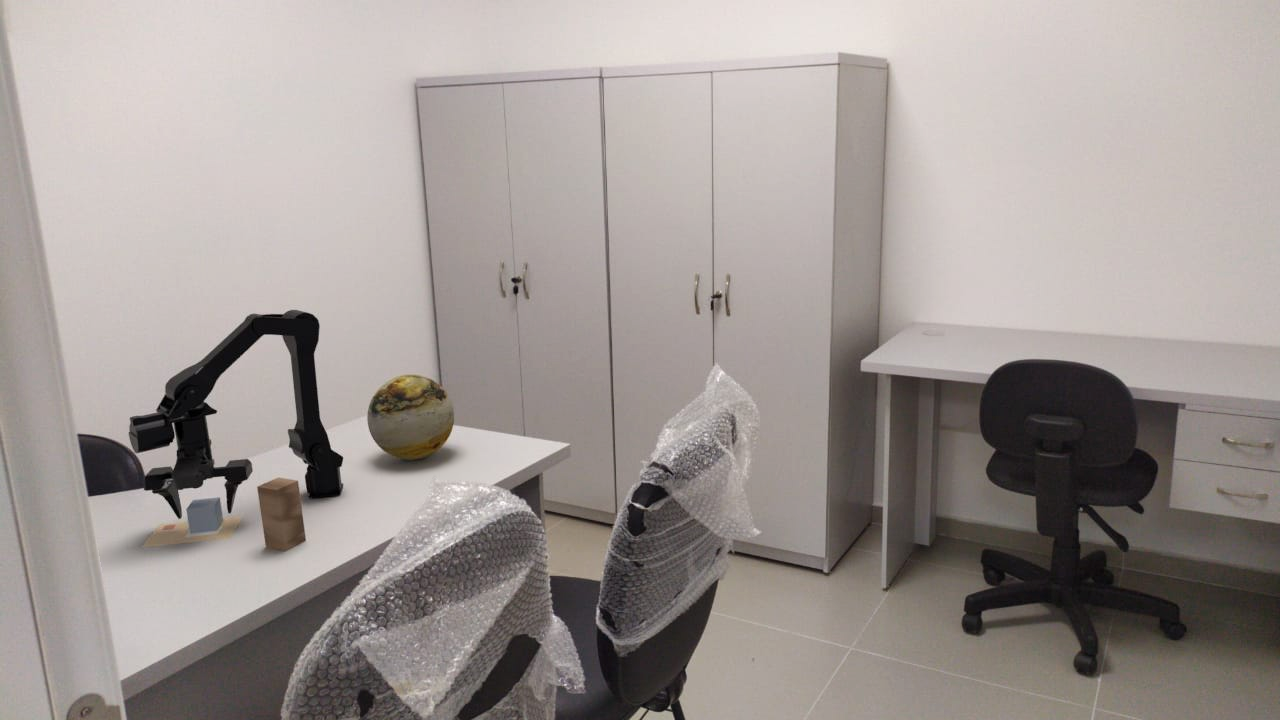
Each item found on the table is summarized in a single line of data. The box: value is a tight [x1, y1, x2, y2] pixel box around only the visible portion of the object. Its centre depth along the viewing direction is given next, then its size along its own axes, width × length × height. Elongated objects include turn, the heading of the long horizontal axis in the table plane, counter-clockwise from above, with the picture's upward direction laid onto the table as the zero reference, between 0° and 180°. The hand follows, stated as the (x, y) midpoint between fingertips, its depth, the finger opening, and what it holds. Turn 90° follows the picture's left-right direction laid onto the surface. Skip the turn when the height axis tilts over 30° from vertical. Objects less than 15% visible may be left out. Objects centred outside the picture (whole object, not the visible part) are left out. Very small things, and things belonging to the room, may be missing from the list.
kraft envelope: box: [141, 515, 244, 548], centre depth 180 cm, size 16×11×1 cm
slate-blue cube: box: [185, 496, 224, 533], centre depth 181 cm, size 5×5×5 cm
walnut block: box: [256, 476, 307, 552], centre depth 171 cm, size 5×5×12 cm
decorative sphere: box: [367, 374, 455, 461], centre depth 216 cm, size 20×20×20 cm
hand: (205, 515), depth 181 cm, fingers open, 9 cm apart
